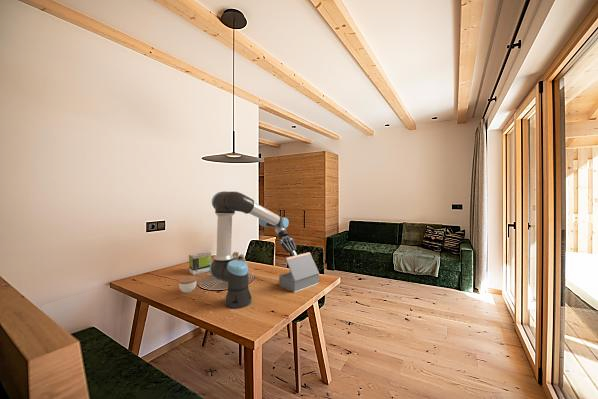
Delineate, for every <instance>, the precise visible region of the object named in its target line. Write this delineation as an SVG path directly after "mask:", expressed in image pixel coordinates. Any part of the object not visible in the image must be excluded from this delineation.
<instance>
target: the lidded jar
mask: <svg viewBox="0 0 598 399" xmlns="http://www.w3.org/2000/svg"><path fill="white" fill-rule="evenodd" d="M178 286H179V290H180V291H181V292H182V293H184V294H188V293H192V292H193V291H194V290H195V288H196V287H197V277H196V276H185V277H181V278H180V279H178Z"/></svg>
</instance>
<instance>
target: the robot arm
mask: <svg viewBox="0 0 598 399" xmlns="http://www.w3.org/2000/svg"><path fill="white" fill-rule="evenodd" d="M211 205H212V207H213V209H214V210H215V211H214V213H215V215H216V216H217V228H216V255H215V256H214V257H213V261H212V264H211V265H210V271H209V273H210V275H211V276H212V277H213V278H214V279H216V280H220V281H222V282H225V283H227V292H226V295H225V298H224V305H225V306H226V307H227V308H229V309H240V308H243V307H244V308H245V307H246V306H249V305H250V304H251V303H252V301H253V300H252V294H251V291H250V288H249V266H248V263H247V261H245V262H244V261H240V260H239V261H238V260H233V256H232V234H233V233H232V229H233V216H234V215H235V213H236V212H241V213H244V214H245V215H246V214H247V215H248V214H249V215H252V216H254V217H256V218H257V219H258V224H259V226H261V227H266V228H273V229H274V231H275V233H276V235H277V237H278V239H279V241H278V245H280V246H281V247H283V249H284V251H286V253H289V254H290V255H291V256H295V255H298V254H297V251H296V250H297V245H296V243H295V238H294V237H292V238H291V236H290V235H289V232H288V231H287V228H288V227H289V223H290V221H289V219H288V218H287V217H284V216H283V217H282V216H279V215H278V214H276V213H274V212H273V211H271V210H269V209H268V208H266V207H264V206H262V205H260V204H258V203H256V202H255V200H254V199H253V198H251V197H249V196H247V195H246V194H244V193H241V192H239V191H219V192H217V193H215V194H214V195H213V197H212V199H211Z"/></svg>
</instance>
